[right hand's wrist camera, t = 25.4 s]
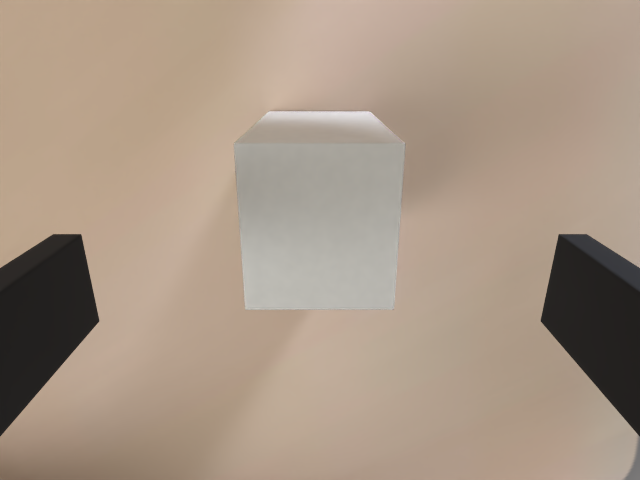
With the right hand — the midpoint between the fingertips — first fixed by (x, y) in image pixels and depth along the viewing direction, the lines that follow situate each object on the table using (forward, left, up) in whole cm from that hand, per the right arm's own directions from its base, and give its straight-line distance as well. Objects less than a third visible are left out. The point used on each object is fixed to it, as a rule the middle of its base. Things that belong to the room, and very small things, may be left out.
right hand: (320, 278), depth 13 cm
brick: (0, 0, -15) cm, 15 cm away
